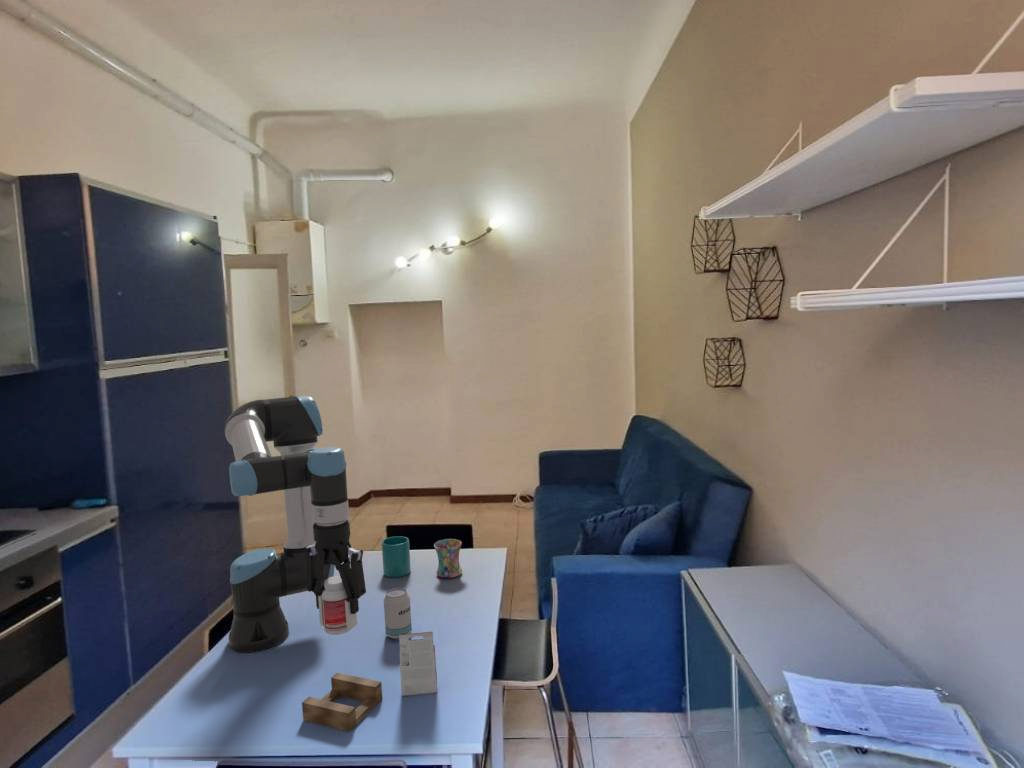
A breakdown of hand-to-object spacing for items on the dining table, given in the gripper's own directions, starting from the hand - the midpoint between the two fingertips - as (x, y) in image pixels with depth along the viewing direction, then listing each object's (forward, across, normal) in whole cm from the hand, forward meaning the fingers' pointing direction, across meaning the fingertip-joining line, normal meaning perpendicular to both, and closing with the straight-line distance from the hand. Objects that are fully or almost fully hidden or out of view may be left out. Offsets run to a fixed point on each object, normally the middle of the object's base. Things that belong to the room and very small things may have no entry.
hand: (338, 624), depth 134 cm
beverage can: (+19, -6, +32) cm, 38 cm away
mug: (+19, -11, +71) cm, 74 cm away
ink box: (+19, +12, +11) cm, 26 cm away
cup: (+19, -30, +70) cm, 78 cm away
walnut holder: (+19, 0, 0) cm, 19 cm away
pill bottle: (+1, 0, 0) cm, 1 cm away
